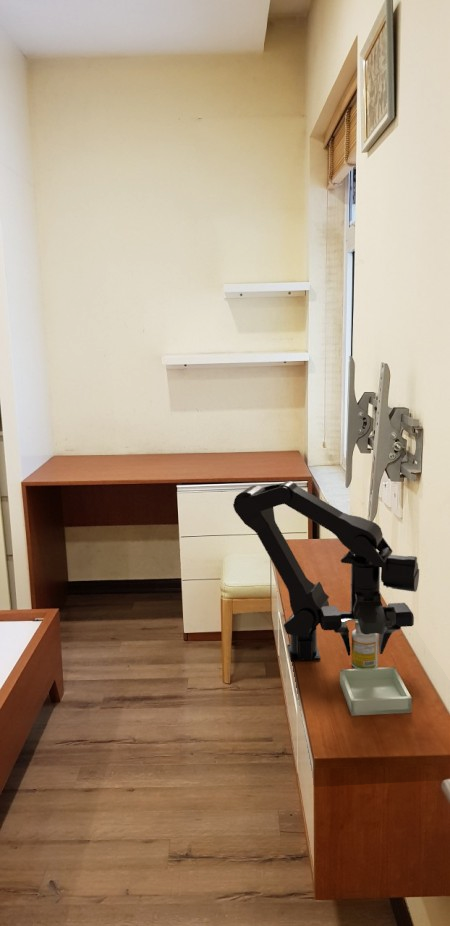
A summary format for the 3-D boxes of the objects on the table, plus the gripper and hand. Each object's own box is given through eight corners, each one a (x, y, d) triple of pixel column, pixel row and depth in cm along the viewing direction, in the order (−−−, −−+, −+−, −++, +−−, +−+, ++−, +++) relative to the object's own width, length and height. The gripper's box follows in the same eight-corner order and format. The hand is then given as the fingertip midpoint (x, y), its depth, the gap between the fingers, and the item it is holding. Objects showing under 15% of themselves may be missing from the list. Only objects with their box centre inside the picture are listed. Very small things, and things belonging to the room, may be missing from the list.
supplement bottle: (359, 656, 142) (359, 614, 140) (382, 663, 139) (382, 620, 137) (346, 666, 138) (346, 623, 136) (370, 674, 135) (370, 630, 133)
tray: (339, 683, 132) (339, 669, 132) (394, 680, 132) (394, 666, 132) (351, 715, 122) (351, 701, 121) (411, 712, 122) (411, 698, 121)
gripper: (326, 602, 127) (326, 676, 130) (423, 598, 127) (421, 672, 130) (317, 580, 138) (317, 649, 141) (406, 576, 138) (404, 644, 141)
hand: (364, 654), depth 138 cm, fingers open, 6 cm apart
